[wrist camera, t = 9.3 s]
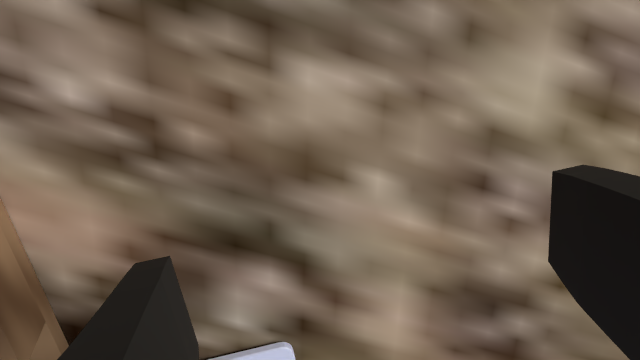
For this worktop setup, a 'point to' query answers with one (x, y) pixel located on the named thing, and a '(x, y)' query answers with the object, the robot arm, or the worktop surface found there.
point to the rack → (24, 304)
